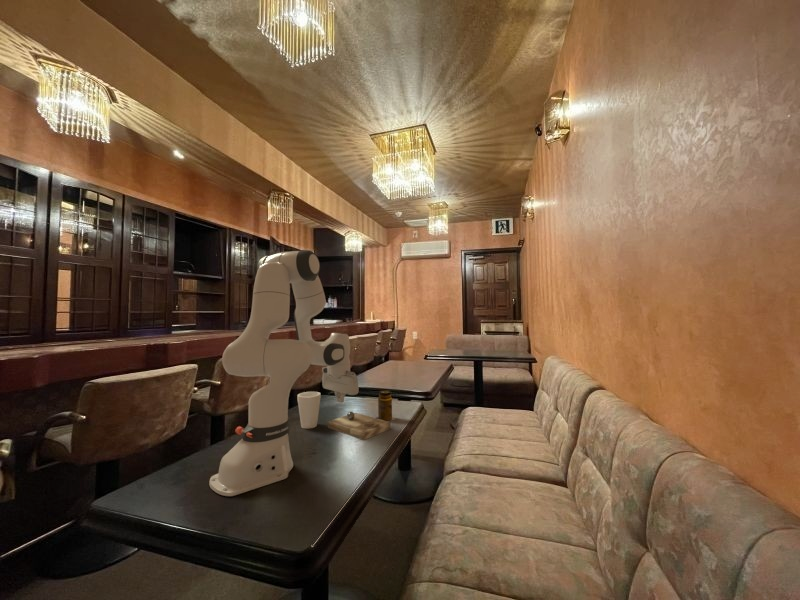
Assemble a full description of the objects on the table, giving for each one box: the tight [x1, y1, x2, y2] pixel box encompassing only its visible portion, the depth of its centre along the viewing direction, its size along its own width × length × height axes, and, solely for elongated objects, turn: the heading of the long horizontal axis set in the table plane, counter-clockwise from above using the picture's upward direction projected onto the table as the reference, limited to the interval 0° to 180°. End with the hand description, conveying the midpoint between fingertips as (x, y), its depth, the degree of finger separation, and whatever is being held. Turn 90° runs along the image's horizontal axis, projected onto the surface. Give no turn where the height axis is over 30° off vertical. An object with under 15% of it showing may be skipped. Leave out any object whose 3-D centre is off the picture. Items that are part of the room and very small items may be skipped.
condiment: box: [376, 390, 396, 422], centre depth 144 cm, size 7×8×12 cm
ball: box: [346, 411, 355, 420], centre depth 136 cm, size 3×3×3 cm
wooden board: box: [327, 412, 392, 441], centre depth 133 cm, size 15×21×2 cm
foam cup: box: [296, 391, 322, 430], centre depth 137 cm, size 10×9×13 cm
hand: (340, 401), depth 141 cm, fingers closed
